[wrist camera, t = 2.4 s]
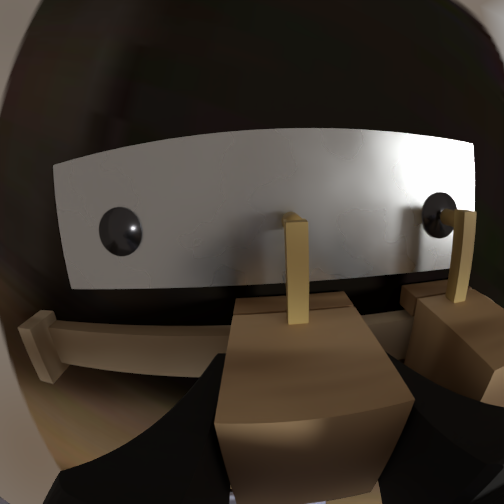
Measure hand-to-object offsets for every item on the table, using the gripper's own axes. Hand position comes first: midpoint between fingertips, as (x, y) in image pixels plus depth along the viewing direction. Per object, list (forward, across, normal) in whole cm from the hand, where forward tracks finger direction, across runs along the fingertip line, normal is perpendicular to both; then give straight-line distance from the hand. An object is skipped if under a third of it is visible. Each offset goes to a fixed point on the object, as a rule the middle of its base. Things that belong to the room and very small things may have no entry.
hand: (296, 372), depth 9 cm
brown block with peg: (+2, 0, -2) cm, 2 cm away
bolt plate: (+2, 0, -5) cm, 6 cm away
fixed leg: (+2, -6, -2) cm, 6 cm away
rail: (+2, +1, 0) cm, 2 cm away
